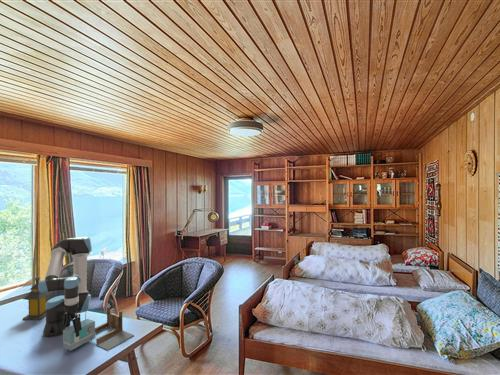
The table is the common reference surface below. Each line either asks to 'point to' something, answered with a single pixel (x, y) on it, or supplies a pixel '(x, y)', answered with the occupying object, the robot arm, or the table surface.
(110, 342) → the rubber mat
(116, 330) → the shelf cradle
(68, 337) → the radio
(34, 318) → the lantern
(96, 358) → the table surface
